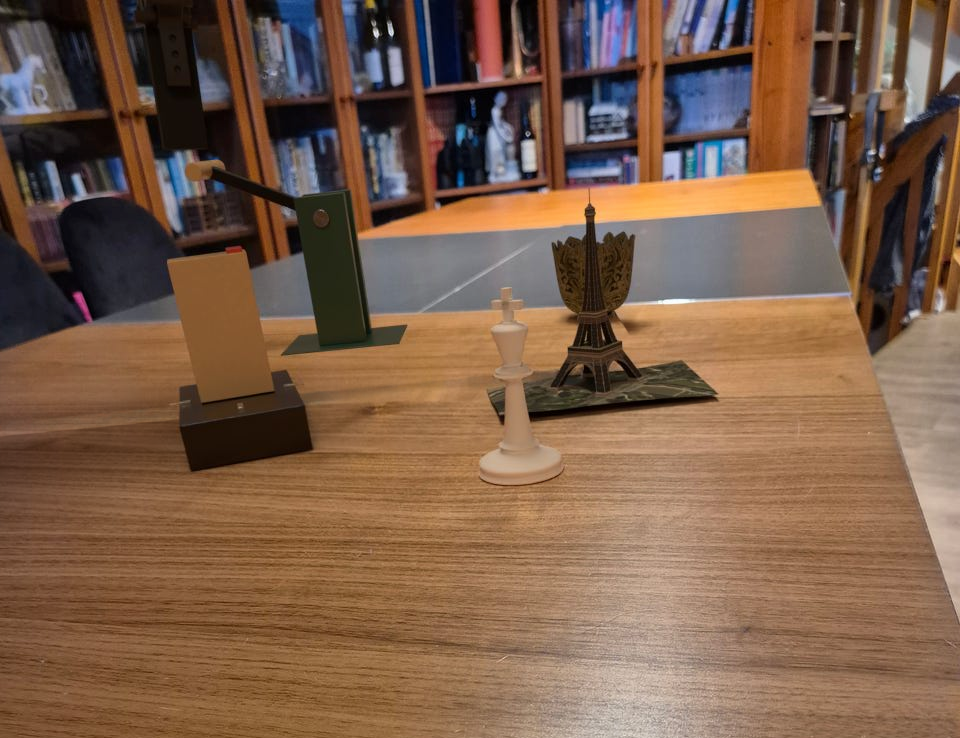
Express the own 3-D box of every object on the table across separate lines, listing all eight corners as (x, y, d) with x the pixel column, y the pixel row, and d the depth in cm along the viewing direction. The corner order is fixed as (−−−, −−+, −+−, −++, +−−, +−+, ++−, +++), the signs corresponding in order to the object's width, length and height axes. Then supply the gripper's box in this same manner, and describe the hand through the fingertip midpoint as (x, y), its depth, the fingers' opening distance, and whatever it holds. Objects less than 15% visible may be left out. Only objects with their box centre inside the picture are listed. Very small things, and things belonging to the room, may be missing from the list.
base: (181, 427, 70) (170, 385, 69) (302, 407, 72) (294, 365, 70) (181, 473, 60) (168, 425, 58) (322, 448, 62) (313, 400, 60)
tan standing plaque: (201, 403, 63) (165, 257, 59) (200, 397, 65) (166, 255, 60) (274, 391, 64) (245, 247, 60) (272, 385, 66) (243, 245, 61)
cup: (550, 340, 85) (544, 245, 81) (563, 323, 91) (558, 235, 87) (632, 335, 83) (630, 239, 79) (640, 319, 89) (638, 228, 85)
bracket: (283, 367, 86) (250, 203, 79) (301, 347, 94) (272, 196, 87) (400, 355, 85) (378, 189, 78) (409, 336, 93) (388, 184, 86)
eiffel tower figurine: (496, 425, 62) (476, 206, 56) (486, 389, 71) (468, 197, 65) (719, 400, 62) (725, 179, 56) (681, 367, 71) (682, 173, 65)
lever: (181, 183, 79) (187, 153, 78) (207, 179, 86) (212, 151, 85) (331, 239, 81) (338, 210, 80) (344, 230, 88) (350, 204, 87)
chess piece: (505, 454, 57) (489, 280, 52) (578, 460, 54) (569, 278, 49) (462, 481, 53) (441, 297, 48) (538, 489, 51) (525, 296, 46)
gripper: (197, -407, 45) (261, 143, 56) (171, -290, 56) (229, 151, 66) (30, -435, 43) (130, 145, 53) (37, -308, 54) (119, 153, 64)
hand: (185, 148), depth 60 cm, fingers closed
